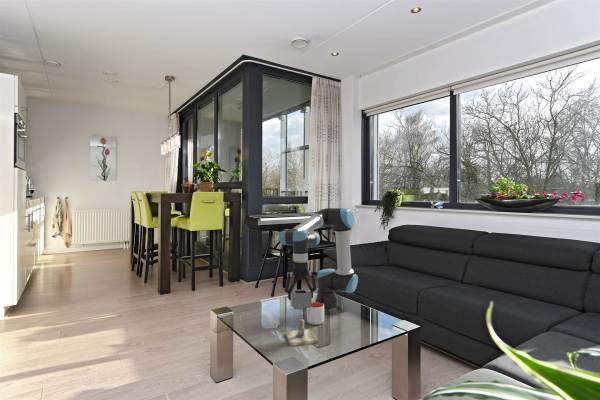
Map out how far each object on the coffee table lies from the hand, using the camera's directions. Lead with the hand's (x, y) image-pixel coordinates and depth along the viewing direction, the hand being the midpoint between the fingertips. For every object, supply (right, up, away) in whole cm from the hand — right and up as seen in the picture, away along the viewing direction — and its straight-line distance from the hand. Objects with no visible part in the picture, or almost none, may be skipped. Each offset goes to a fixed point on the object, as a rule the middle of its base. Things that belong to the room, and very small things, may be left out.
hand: (300, 305), depth 180 cm
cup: (+9, -17, +23) cm, 30 cm away
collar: (0, 0, 0) cm, 0 cm away
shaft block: (0, -17, +1) cm, 17 cm away
